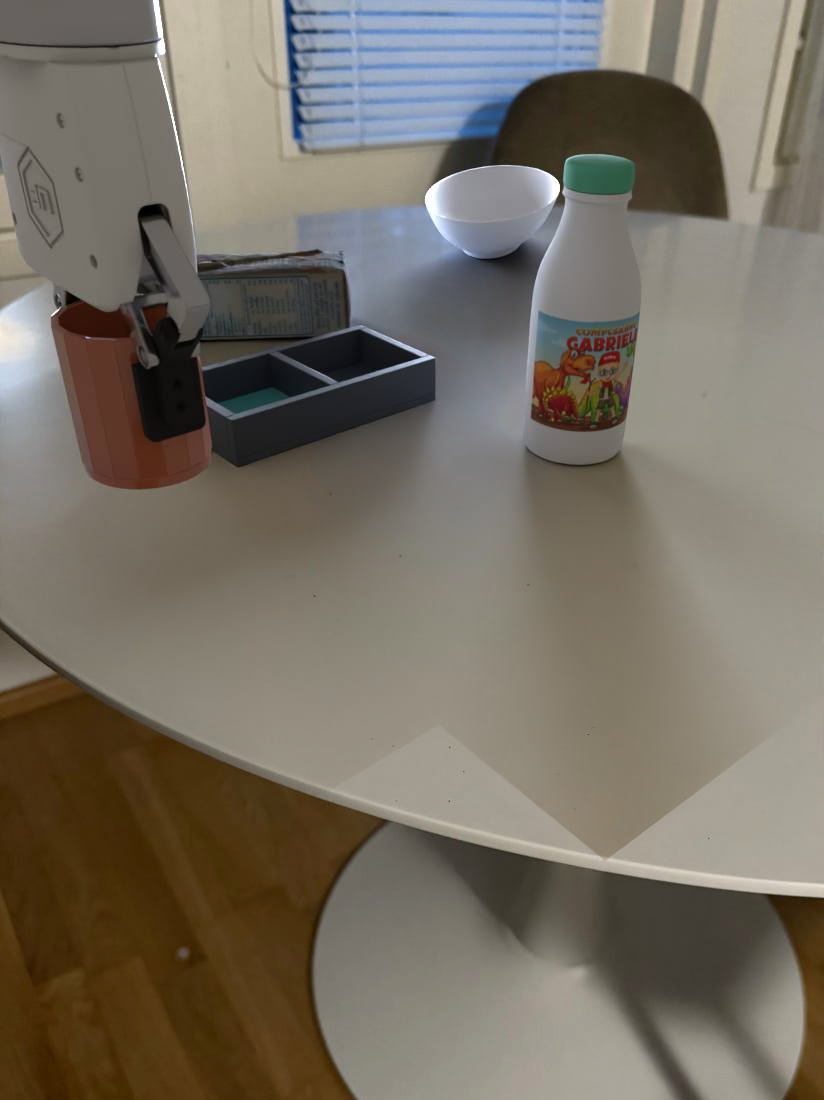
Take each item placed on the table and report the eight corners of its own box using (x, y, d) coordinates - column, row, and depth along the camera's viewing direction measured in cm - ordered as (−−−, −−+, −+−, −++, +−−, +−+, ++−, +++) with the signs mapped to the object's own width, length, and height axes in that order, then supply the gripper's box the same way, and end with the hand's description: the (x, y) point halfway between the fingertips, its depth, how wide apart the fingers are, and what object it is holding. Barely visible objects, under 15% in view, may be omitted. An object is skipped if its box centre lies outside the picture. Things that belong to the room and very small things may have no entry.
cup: (62, 454, 53) (26, 310, 48) (173, 422, 57) (151, 285, 52) (121, 503, 49) (89, 351, 44) (236, 464, 53) (218, 321, 48)
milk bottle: (501, 439, 74) (516, 154, 62) (572, 415, 78) (599, 143, 66) (571, 477, 69) (601, 177, 57) (643, 449, 73) (685, 164, 61)
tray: (168, 422, 74) (161, 377, 72) (362, 364, 85) (360, 324, 83) (237, 467, 69) (231, 420, 67) (435, 399, 79) (435, 357, 77)
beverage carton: (154, 314, 93) (142, 244, 89) (351, 312, 96) (348, 244, 92) (142, 344, 87) (129, 269, 83) (354, 341, 90) (350, 268, 86)
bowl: (461, 210, 130) (462, 161, 127) (570, 220, 128) (574, 170, 124) (399, 272, 107) (398, 215, 103) (530, 286, 105) (534, 228, 101)
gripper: (-102, -8, 43) (2, 374, 54) (73, 39, 33) (156, 493, 44) (61, -10, 47) (127, 344, 58) (258, 32, 37) (292, 447, 48)
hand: (139, 406), depth 51 cm, fingers closed on cup, 6 cm apart
